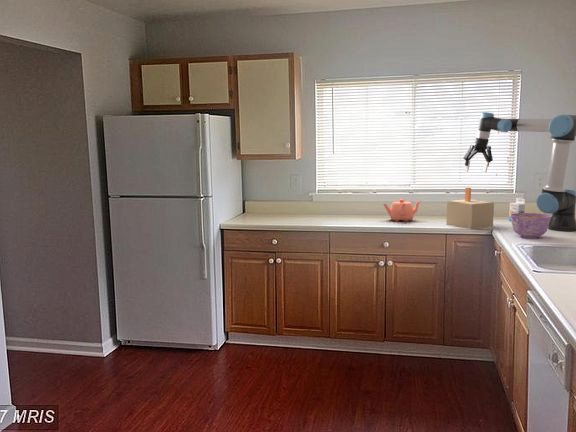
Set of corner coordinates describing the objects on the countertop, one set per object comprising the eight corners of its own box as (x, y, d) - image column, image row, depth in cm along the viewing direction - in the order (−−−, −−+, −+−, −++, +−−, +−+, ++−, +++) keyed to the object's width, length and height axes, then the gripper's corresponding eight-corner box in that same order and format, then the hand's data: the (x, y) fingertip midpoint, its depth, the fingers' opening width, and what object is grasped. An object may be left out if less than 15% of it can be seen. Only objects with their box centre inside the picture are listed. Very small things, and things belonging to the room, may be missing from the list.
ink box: (508, 220, 346) (509, 197, 344) (515, 220, 348) (516, 197, 346) (517, 222, 338) (519, 199, 336) (524, 222, 340) (525, 198, 338)
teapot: (421, 220, 351) (422, 199, 349) (404, 223, 339) (404, 201, 337) (399, 217, 365) (399, 197, 363) (381, 220, 353) (381, 199, 351)
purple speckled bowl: (505, 237, 286) (506, 216, 285) (513, 232, 303) (514, 212, 301) (546, 241, 275) (548, 219, 274) (552, 235, 292) (554, 214, 290)
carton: (492, 226, 325) (494, 202, 323) (471, 228, 316) (472, 204, 314) (467, 222, 342) (468, 199, 340) (446, 224, 334) (447, 201, 332)
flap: (480, 201, 332) (480, 187, 330) (459, 203, 323) (459, 188, 322) (468, 199, 340) (468, 186, 339) (447, 201, 332) (448, 187, 331)
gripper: (495, 137, 341) (488, 170, 347) (461, 135, 333) (455, 169, 339) (503, 140, 334) (495, 173, 340) (469, 137, 327) (462, 172, 333)
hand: (475, 171), depth 340 cm, fingers open, 13 cm apart
